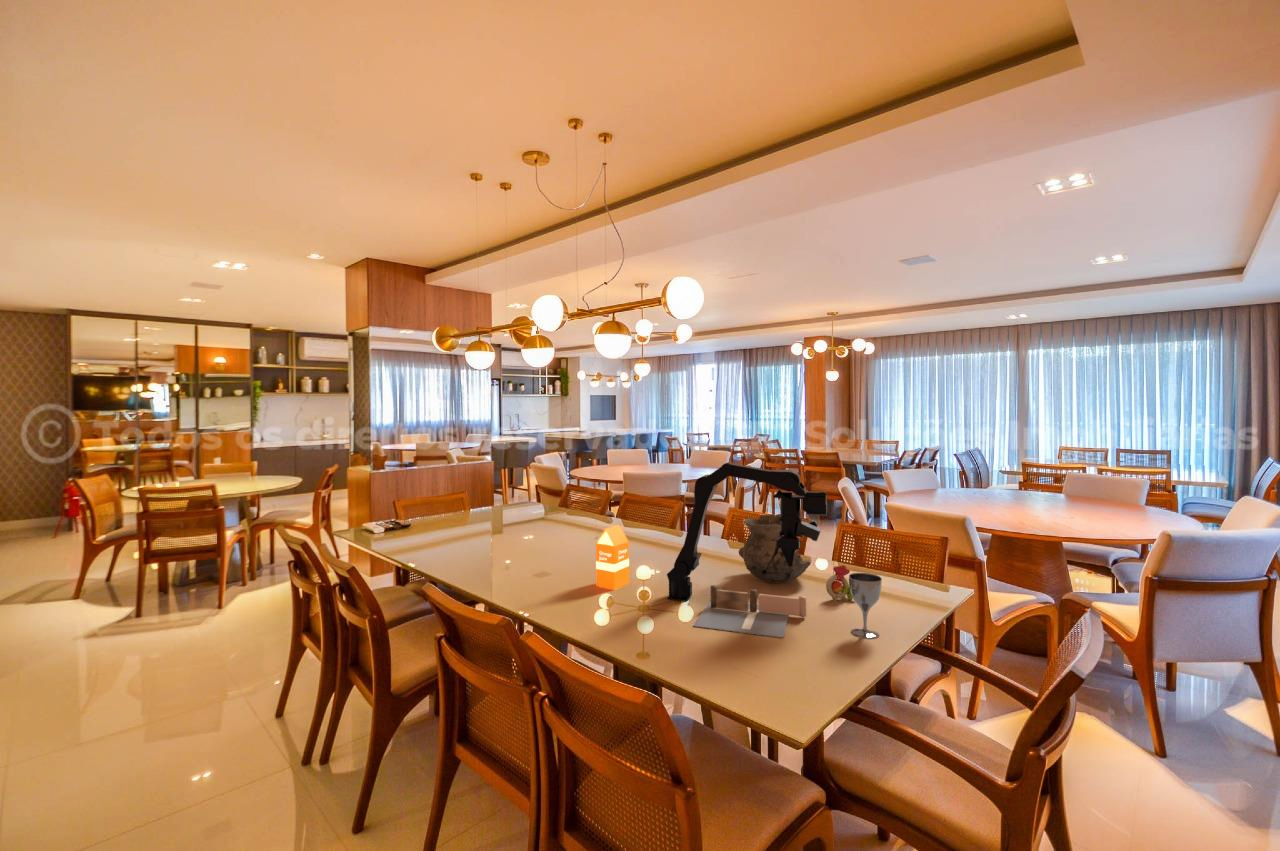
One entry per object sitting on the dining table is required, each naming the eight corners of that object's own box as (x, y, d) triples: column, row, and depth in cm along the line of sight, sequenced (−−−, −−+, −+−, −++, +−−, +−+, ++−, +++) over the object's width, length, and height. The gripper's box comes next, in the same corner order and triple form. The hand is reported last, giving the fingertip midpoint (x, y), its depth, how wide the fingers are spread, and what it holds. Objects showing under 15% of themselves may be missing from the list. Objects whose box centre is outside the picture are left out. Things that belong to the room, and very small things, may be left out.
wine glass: (880, 629, 149) (880, 574, 149) (882, 641, 142) (882, 582, 141) (848, 626, 152) (848, 571, 152) (849, 637, 145) (849, 580, 144)
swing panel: (758, 611, 161) (758, 593, 161) (759, 609, 163) (759, 591, 163) (806, 617, 157) (806, 598, 157) (806, 614, 159) (806, 596, 159)
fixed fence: (710, 608, 166) (710, 587, 166) (711, 606, 168) (711, 585, 168) (756, 614, 162) (756, 591, 161) (757, 611, 163) (757, 589, 163)
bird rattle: (841, 610, 170) (864, 595, 172) (828, 578, 168) (851, 564, 171) (828, 603, 176) (851, 589, 178) (816, 572, 174) (839, 559, 177)
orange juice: (629, 583, 191) (629, 525, 191) (614, 590, 184) (614, 529, 183) (610, 579, 196) (610, 522, 195) (595, 586, 188) (595, 527, 188)
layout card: (692, 626, 153) (692, 625, 153) (710, 600, 173) (710, 599, 173) (783, 638, 144) (783, 636, 144) (790, 609, 165) (790, 608, 165)
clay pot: (738, 568, 208) (737, 511, 207) (803, 570, 205) (803, 512, 204) (740, 589, 183) (740, 524, 183) (815, 592, 180) (815, 526, 179)
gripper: (817, 521, 152) (817, 577, 153) (820, 509, 170) (820, 560, 170) (776, 518, 156) (776, 574, 157) (782, 507, 174) (782, 557, 174)
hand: (790, 566), depth 164 cm, fingers closed
